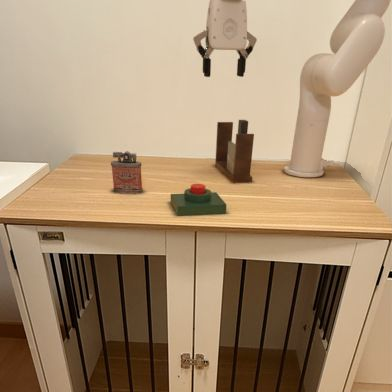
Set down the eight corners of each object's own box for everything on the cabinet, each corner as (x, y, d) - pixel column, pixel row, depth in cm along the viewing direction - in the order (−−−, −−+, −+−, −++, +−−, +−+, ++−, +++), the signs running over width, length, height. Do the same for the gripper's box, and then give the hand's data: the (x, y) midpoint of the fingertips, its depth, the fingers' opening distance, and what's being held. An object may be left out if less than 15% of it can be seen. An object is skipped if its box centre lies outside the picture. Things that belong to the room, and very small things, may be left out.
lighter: (143, 190, 113) (141, 151, 107) (141, 193, 110) (139, 153, 104) (114, 189, 113) (111, 149, 107) (112, 192, 111) (108, 152, 104)
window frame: (232, 164, 140) (235, 121, 132) (252, 182, 123) (257, 134, 115) (215, 165, 139) (217, 121, 131) (233, 183, 122) (237, 134, 114)
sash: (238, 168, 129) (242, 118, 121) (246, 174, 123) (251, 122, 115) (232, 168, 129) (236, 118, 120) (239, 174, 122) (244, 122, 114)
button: (203, 190, 102) (203, 183, 101) (206, 195, 99) (207, 187, 98) (189, 191, 101) (189, 183, 100) (192, 195, 98) (192, 188, 97)
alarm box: (215, 200, 107) (216, 185, 105) (225, 213, 100) (227, 196, 97) (170, 202, 105) (170, 186, 103) (177, 215, 97) (177, 198, 95)
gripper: (199, -10, 95) (198, 77, 106) (266, -7, 100) (258, 77, 110) (189, -8, 101) (189, 75, 111) (253, -5, 106) (247, 75, 116)
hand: (223, 76), depth 111 cm, fingers open, 9 cm apart
